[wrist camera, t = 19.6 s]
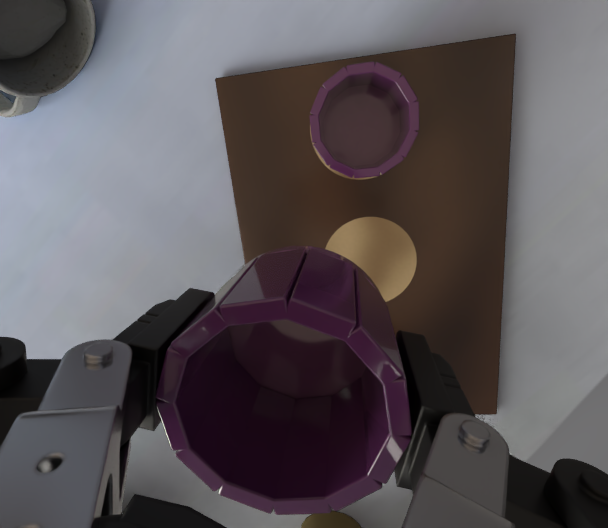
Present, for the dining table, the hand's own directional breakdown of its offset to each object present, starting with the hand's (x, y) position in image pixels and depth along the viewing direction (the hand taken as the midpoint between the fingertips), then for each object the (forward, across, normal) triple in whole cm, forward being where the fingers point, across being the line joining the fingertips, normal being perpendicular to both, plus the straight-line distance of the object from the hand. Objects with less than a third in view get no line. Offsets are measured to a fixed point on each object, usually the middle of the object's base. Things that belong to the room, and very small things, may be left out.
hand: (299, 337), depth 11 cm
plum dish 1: (+1, 0, 0) cm, 1 cm away
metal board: (+15, -3, +2) cm, 16 cm away
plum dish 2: (+15, -1, -7) cm, 17 cm away
